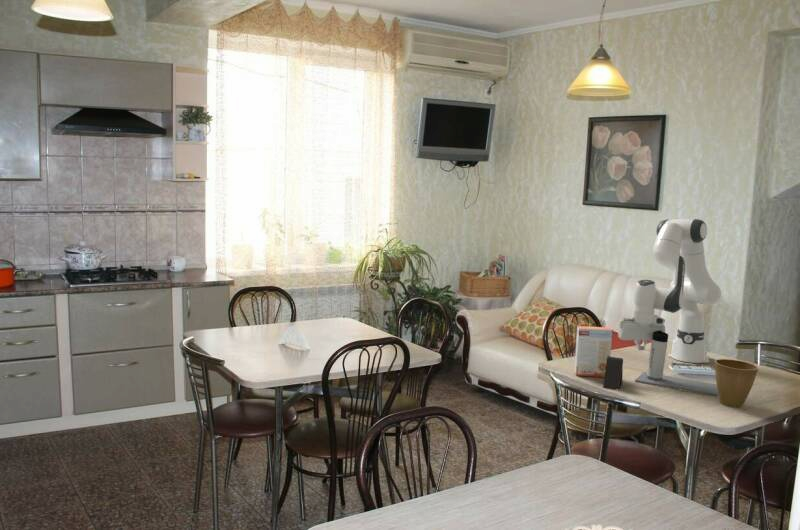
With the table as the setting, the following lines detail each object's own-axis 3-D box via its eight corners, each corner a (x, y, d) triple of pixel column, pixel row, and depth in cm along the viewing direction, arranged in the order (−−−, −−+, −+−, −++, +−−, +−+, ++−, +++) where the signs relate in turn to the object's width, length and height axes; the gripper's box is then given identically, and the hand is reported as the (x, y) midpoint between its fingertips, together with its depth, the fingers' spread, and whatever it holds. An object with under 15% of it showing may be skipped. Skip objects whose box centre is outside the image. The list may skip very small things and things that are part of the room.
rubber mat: (643, 373, 309) (643, 371, 309) (722, 387, 293) (722, 385, 293) (635, 381, 295) (635, 379, 295) (717, 396, 279) (717, 394, 279)
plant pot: (717, 409, 263) (721, 367, 261) (706, 397, 277) (710, 357, 276) (759, 412, 261) (764, 370, 259) (745, 400, 275) (750, 360, 274)
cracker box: (606, 374, 305) (610, 327, 302) (609, 378, 299) (613, 330, 296) (573, 372, 306) (577, 325, 304) (575, 375, 300) (579, 327, 298)
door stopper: (607, 382, 292) (609, 354, 291) (622, 384, 290) (624, 356, 288) (602, 387, 285) (605, 358, 283) (618, 390, 282) (620, 361, 280)
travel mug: (660, 376, 302) (667, 331, 298) (663, 381, 295) (670, 335, 292) (645, 374, 302) (651, 329, 299) (647, 379, 296) (654, 333, 293)
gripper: (624, 319, 294) (621, 351, 296) (668, 319, 298) (665, 351, 300) (616, 316, 300) (614, 348, 302) (660, 316, 304) (657, 348, 306)
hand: (640, 350), depth 301 cm, fingers closed
